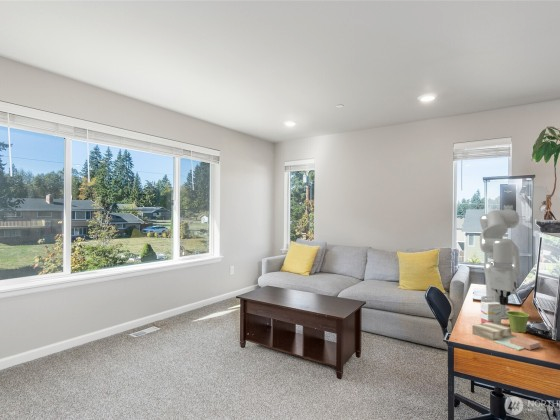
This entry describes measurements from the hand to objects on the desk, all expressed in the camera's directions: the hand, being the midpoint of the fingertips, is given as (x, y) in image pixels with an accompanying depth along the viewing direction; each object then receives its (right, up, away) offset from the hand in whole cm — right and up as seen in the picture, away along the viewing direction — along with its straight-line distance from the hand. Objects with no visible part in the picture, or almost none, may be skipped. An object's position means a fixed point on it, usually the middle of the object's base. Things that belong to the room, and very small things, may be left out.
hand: (503, 304), depth 147 cm
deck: (-3, -17, +5) cm, 17 cm away
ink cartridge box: (+8, -17, +20) cm, 28 cm away
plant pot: (+15, -17, +10) cm, 25 cm away
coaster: (+3, -14, -8) cm, 16 cm away
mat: (+2, -16, -5) cm, 17 cm away
